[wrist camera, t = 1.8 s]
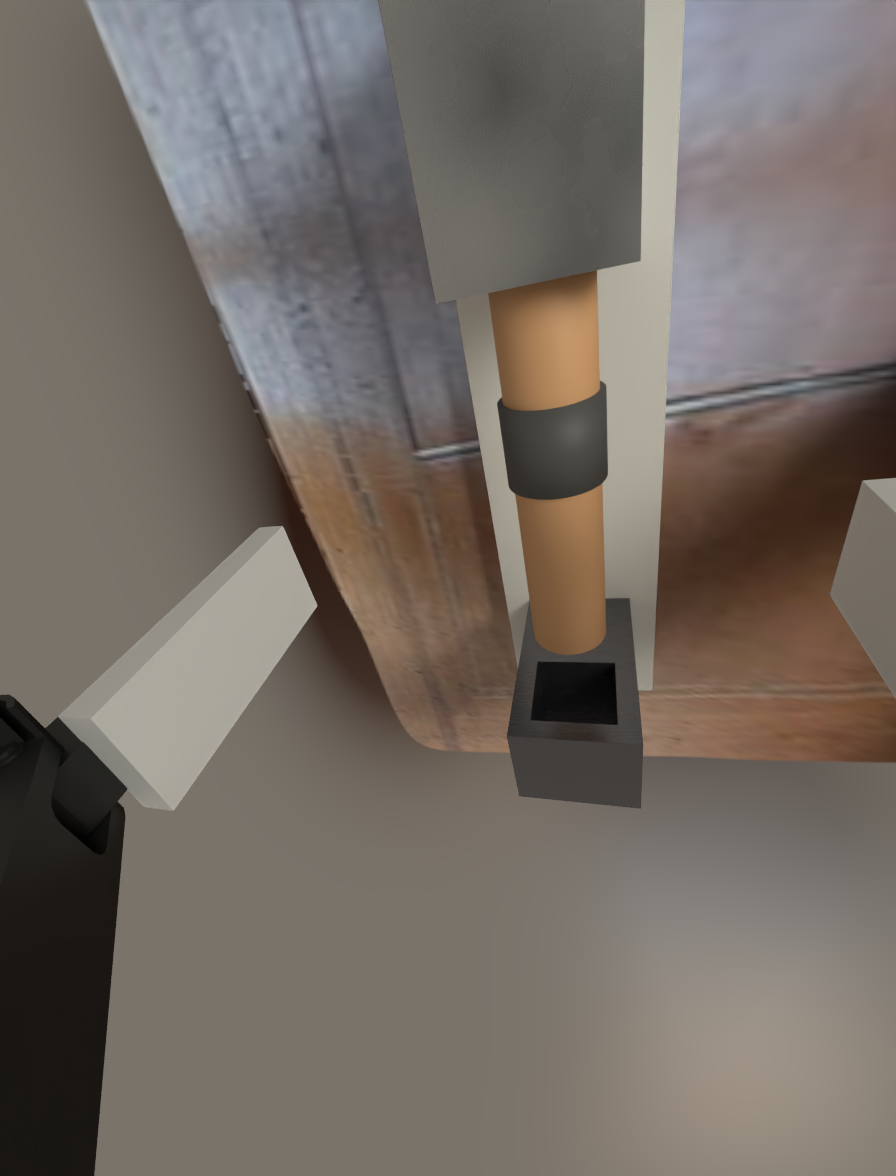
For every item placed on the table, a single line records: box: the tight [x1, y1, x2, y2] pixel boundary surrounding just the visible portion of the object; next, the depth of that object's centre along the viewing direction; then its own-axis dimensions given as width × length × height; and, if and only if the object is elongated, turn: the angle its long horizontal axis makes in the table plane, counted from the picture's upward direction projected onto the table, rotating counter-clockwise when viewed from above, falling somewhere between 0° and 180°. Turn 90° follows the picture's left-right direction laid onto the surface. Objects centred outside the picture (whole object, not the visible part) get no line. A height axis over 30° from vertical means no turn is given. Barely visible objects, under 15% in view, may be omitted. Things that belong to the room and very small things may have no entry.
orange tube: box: [488, 270, 608, 655], centre depth 16 cm, size 22×4×4 cm, turn 12°
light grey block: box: [378, 0, 645, 304], centre depth 14 cm, size 10×5×10 cm, turn 12°
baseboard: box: [455, 0, 685, 691], centre depth 25 cm, size 37×9×2 cm, turn 12°
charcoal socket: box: [507, 598, 643, 808], centre depth 28 cm, size 5×6×10 cm
